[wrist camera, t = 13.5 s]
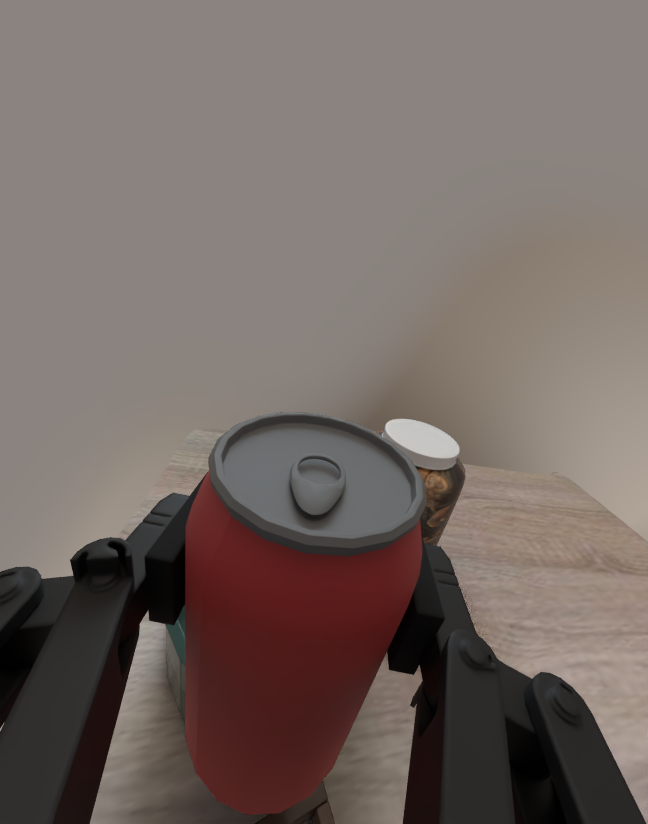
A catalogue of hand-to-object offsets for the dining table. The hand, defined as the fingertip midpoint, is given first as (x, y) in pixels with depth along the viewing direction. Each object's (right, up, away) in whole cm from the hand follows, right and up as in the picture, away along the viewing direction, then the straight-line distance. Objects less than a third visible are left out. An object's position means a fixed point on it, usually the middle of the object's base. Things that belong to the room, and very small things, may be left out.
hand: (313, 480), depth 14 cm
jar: (+8, -13, +25) cm, 29 cm away
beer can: (-2, -9, -1) cm, 9 cm away
